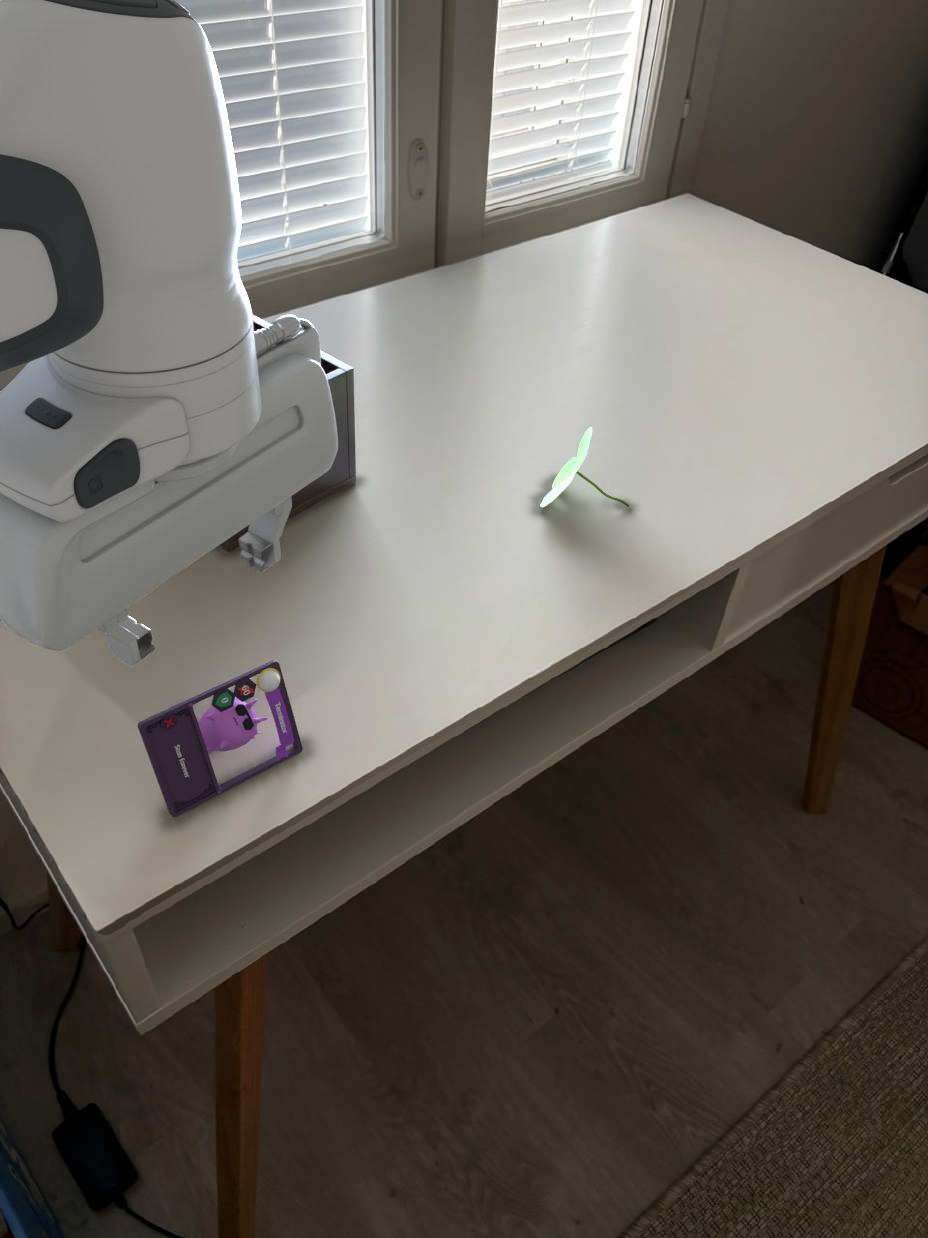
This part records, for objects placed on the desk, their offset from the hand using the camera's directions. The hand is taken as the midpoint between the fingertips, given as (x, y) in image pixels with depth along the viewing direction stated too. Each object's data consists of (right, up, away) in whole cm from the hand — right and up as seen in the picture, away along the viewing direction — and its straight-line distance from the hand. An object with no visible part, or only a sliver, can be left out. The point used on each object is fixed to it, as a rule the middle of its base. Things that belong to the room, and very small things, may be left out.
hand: (201, 606), depth 55 cm
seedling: (+24, +9, +30) cm, 40 cm away
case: (-5, +11, +30) cm, 33 cm away
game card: (-1, -10, +8) cm, 13 cm away
